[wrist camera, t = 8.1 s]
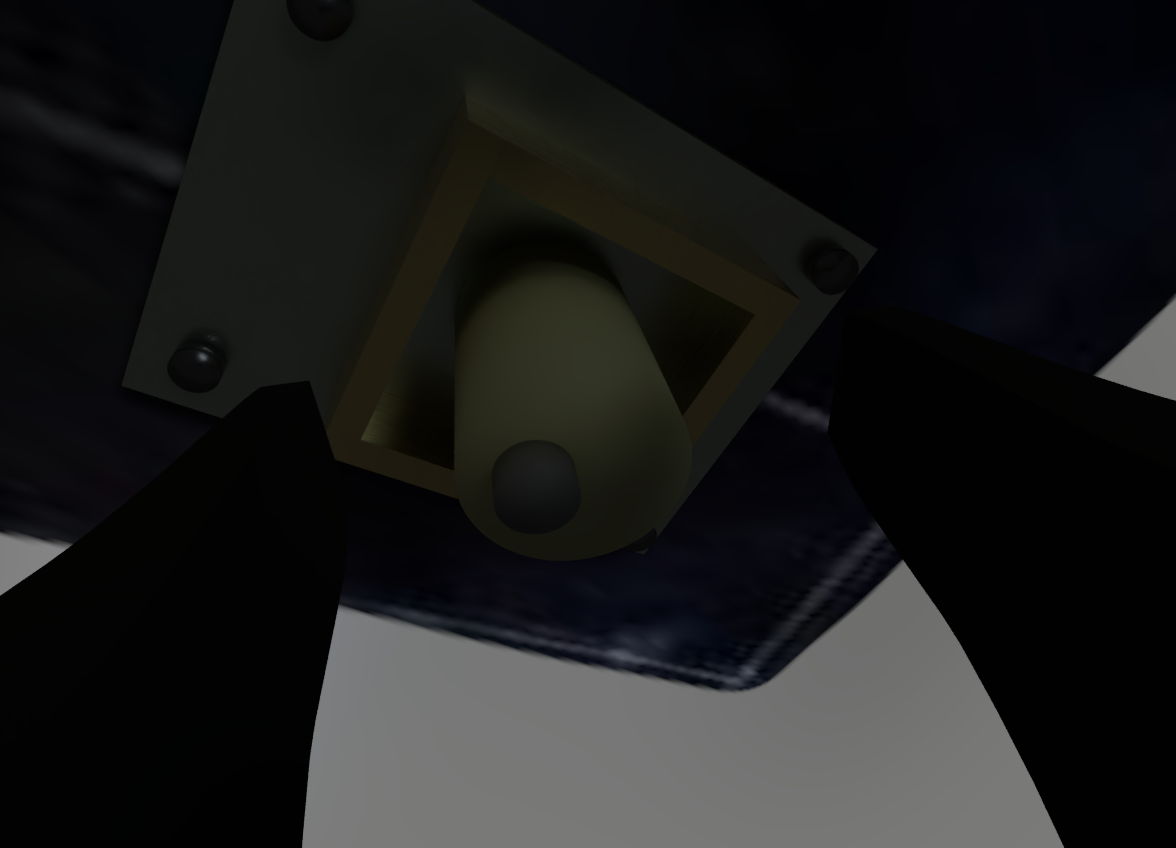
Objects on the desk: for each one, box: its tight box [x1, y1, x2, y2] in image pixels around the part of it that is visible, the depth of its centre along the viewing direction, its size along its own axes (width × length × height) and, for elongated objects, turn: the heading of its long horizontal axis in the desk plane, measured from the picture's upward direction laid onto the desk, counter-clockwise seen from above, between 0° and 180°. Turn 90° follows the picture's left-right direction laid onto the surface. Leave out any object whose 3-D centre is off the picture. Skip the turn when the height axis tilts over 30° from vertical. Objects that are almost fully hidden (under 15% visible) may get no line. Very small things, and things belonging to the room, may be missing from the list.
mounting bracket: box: [122, 0, 878, 554], centre depth 19 cm, size 16×12×4 cm
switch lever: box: [454, 241, 692, 561], centre depth 17 cm, size 5×5×7 cm
